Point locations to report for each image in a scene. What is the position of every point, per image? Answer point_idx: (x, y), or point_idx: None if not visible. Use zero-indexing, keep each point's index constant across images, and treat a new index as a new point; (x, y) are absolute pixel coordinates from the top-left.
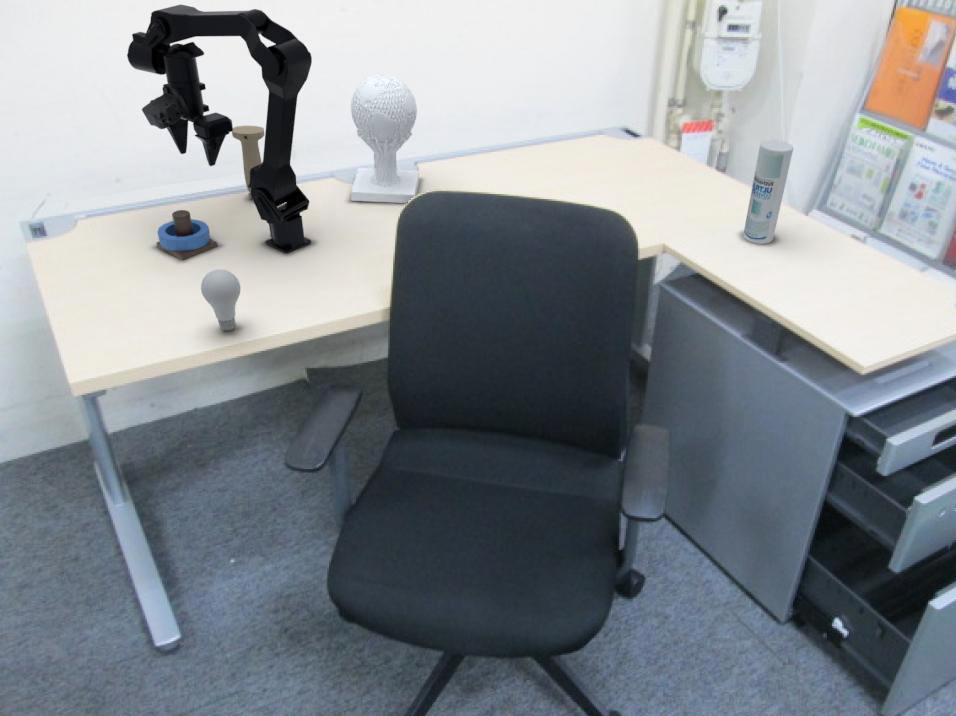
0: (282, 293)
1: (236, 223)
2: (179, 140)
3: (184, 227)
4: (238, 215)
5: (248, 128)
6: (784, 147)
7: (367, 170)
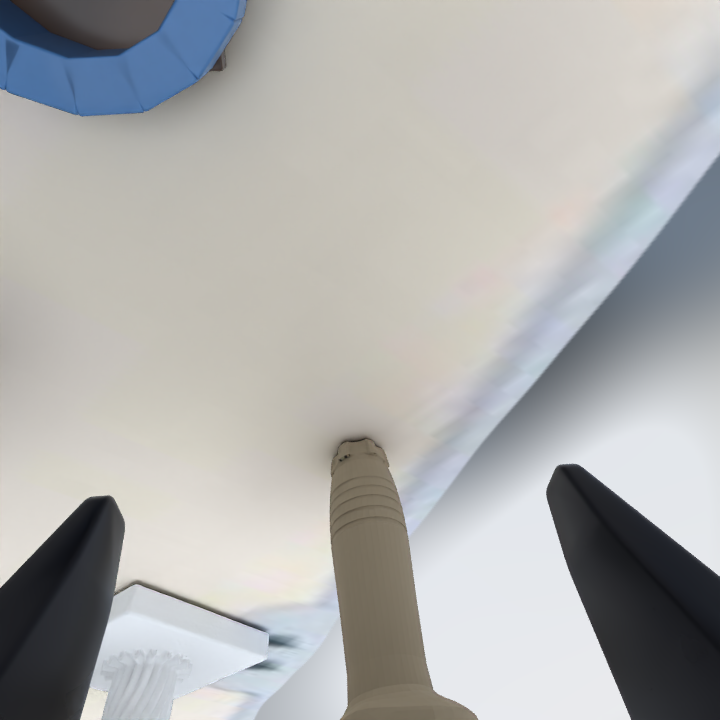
0: None
1: (208, 300)
2: (635, 598)
3: None
4: (276, 346)
5: None
6: None
7: (237, 663)
